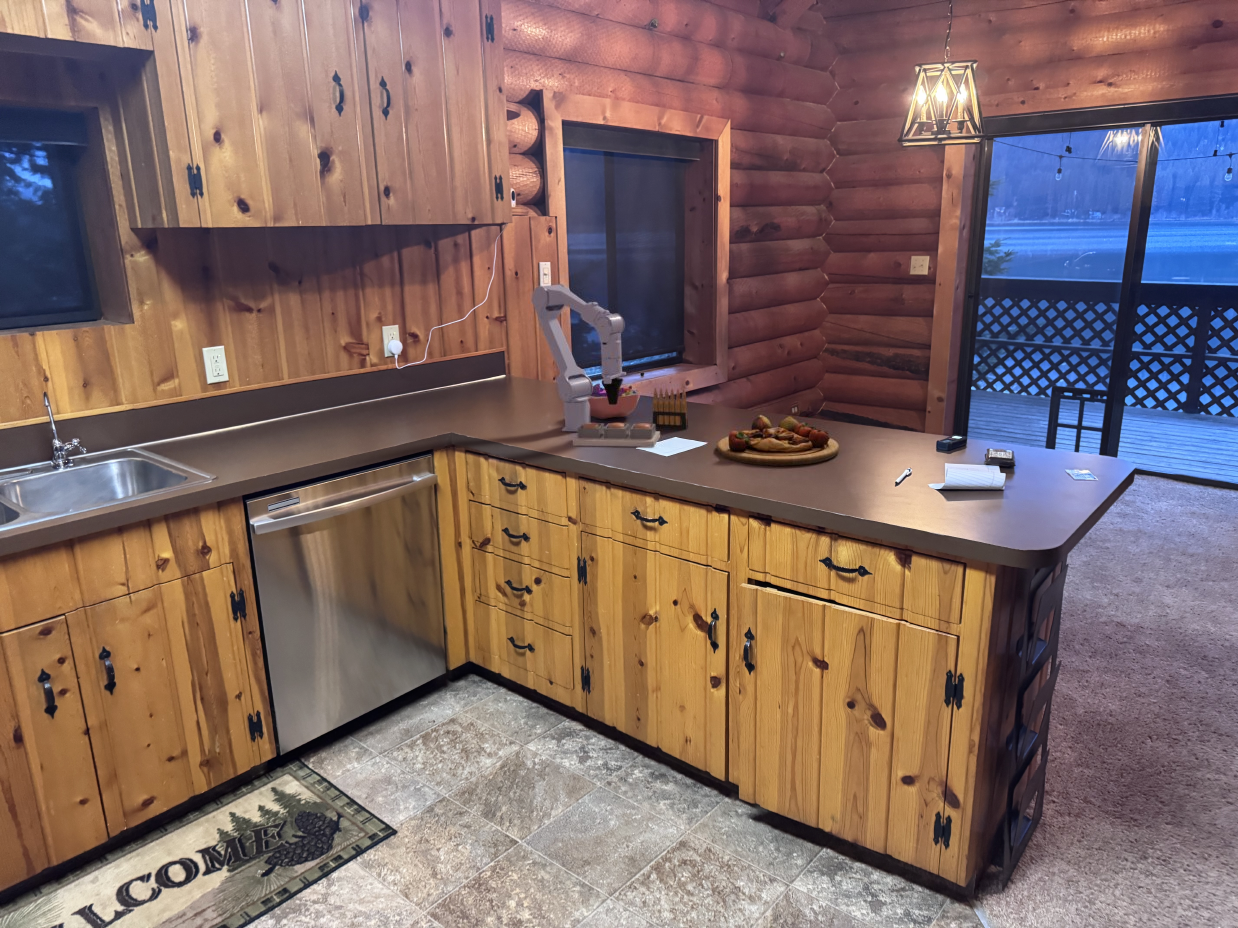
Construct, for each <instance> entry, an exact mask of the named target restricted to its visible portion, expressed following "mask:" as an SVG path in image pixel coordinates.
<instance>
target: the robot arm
mask: <svg viewBox="0 0 1238 928" xmlns="http://www.w3.org/2000/svg"><path fill="white" fill-rule="evenodd" d="M531 303H532V305H533V308H534V310H535V312H536V315H537V321H538V323H539V325H540V327H541V330H542V333H543V336H544V337H545V339H546V342H547V344H548V348H549V350H550V352H551V355H552V357H553V359H554V362H555V364H556V367H557V368H558V371H559V374H558V376H557V377H556V380H555V382H556V385H557V393H558V396H559V398H560V399H561V400H562V402H563V405H564V421H565V422H564V424H565V426H564V427H563V428H562V429H561V432H578V428H579V427H580V426H581V425H582V424H583V423H592V422H591V415H590V404H589V402H588V399H590V395H591V394H592V392H593V386H594V384H593V381H592V379H591V378H590V377H589V376H588V375H587V373H586V370H585V369H582V368H581V367H579V366H578V365H577V363H576V361H575V358H574V356H573V354H572V351H571V349H570V346H569V344H568V342H567V340H566V337H565V334H564V332H563V329H562V327H561V324H560V322H559V320H558V318H559V315H560V314H561V313H562V312H563V310H564V308H565V307H567V308H569V309H571V310H573V311H574V312H577V313H579V314H580V318H581V319H582V321H584V322H586V323H588V325H590V326H592V327H594V328H595V330H596V332H597V334H598V336H599V337H598V338H599V339H598V340H599V341H600V350H601V377H602V378H603V379H602V380H601V385H602V386H603V387H602V388H605V391H606V394H607V398H608V402H609V405H616V404H617V402H618V396H619V390H620V388H622V387H621V386H622V384H623V382H624V378H619V377H622V376H626V375H627V372H626V371H623V365H622V364H623V363H622V362H623V360H622V359H623V358H622V335H621V334H622V333H623V332H624V330H625V327H626V322H625V320H624V318H623V316H622V315H621V314H620V313H610V311H609V310H607V309H604V308H603V307H601V306H600V305H599V303H598V302H596V301H593V302H592V301H591V302H586V301H584V300H583V299H581V298H580V297H579V296H577V295H576V294H575V293H573V292H572V291H571V290H570V287H568V286H565V285H564V284H561V283H558V284H554V285H553V284H552V285H543V286H542V285H538V286H535V288H534V290H533V291H532V296H531Z"/></svg>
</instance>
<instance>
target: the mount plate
mask: <svg viewBox="0 0 1238 928" xmlns="http://www.w3.org/2000/svg"><path fill="white" fill-rule="evenodd" d="M583 424H586V423H583ZM583 424H582V425H581V426H580V427H579V428H578V431H577V436H575V437H574V438H573V440H572V446H574V447H575V446H583V447H588V446H589V447H644V448H645V447H647V448H650V447H651V448H652V447H655V446H656V445H657V442H658V441H659V440H660V437H661V431H657V428H655V424H653V423H649V424H650V425H651V428H650V429H641V428H635V425H636V424H637V423H633V424H632V425H631V426H630V423H624V428H609V424H611V423H607V424H606V425H605V423H598V424H599V427H598V428H583Z"/></svg>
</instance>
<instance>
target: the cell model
mask: <svg viewBox="0 0 1238 928" xmlns="http://www.w3.org/2000/svg"><path fill="white" fill-rule="evenodd" d="M641 395H642V392H641V391H640V390H636V389H631V388H626V387H620V390H619V396H618V402H617V404H616V405H609V402H608V398H607V394H606V391H605V388H604V387H601V383H600V382H598V383H596V384H593V392H592V394H591V395H590V399H588V402H589V404H590V417H591V416H592V417H594V418H597V419H601V420H606V419H607V420H608V419H611V418H624V417H627V416H628V415H631V413H632V412H633V411H634V410H635V409H636V408H637V404H638V402H639V399H640V397H641Z"/></svg>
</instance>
